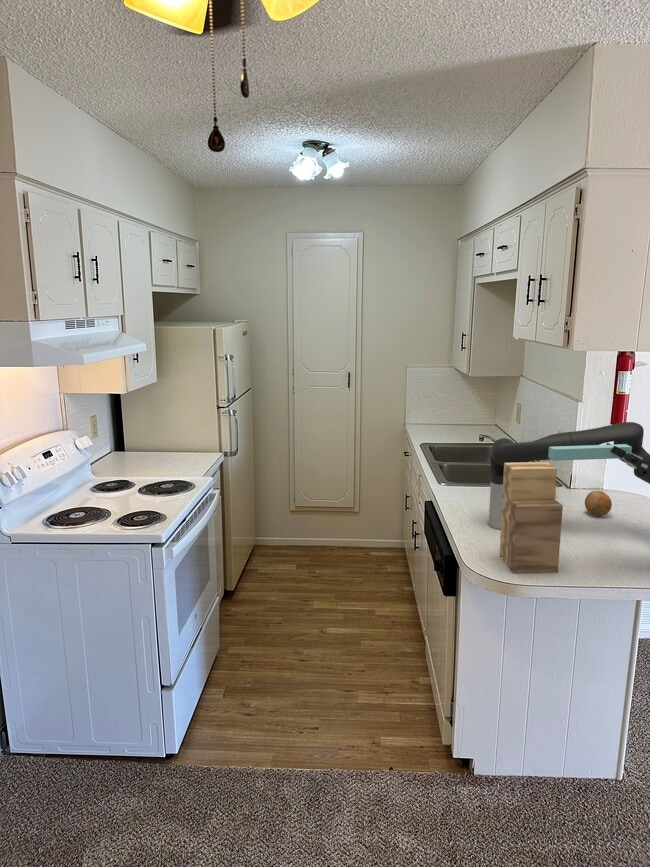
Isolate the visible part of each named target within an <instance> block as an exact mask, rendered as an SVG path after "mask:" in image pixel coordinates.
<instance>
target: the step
mask: <svg viewBox="0 0 650 867" xmlns="http://www.w3.org/2000/svg"><path fill="white" fill-rule="evenodd" d="M563 506H564V505H563V504H562V503H561V502H559V501H558V500H556V499H555V500H543V501H512V505H511V524H510V542H509V560H508V565H507V567H508V568H509V570H510V569H511V570H510V571H511V573H512V574H545V573H546V574H547V573H548V574H550V573H553V574H555V573H559V564H560V560H559V559H560V549H561V533H562V520H563Z"/></svg>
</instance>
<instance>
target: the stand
mask: <svg viewBox="0 0 650 867" xmlns="http://www.w3.org/2000/svg"><path fill="white" fill-rule="evenodd" d="M557 475H558V468H557V467H556V466H554V465H552V464H551V463H549V462H548V461H531V462H518V463H504V477H503V496H502V516H501V529H500V539H499V557H500V558H501V557H502V558H503V559H502V558H501V559H502V560H503V561H505V562H504V563H505V564H506V566H508V560H509V542H510V524H511V505H512V501H543V500H556V497H555V491H556V492H557Z"/></svg>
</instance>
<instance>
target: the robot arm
mask: <svg viewBox="0 0 650 867" xmlns="http://www.w3.org/2000/svg"><path fill="white" fill-rule="evenodd" d="M643 441H644V427H643V426H642V425H641V424H640V423H637V422H632V421H624V422H618V423H614V424H609V425H605V426H600V427H595V428H588V429H583V430H576V431H568V432H567V431H566V432H558V433H553V434H549V435H546V436H544V437H540V438H538V439H535V440H532V441H525V442H514V441H513V440H512V439H509V438H506V437H502V438H499V439H497V440H496V441H494V443H493V444H492V446H491V448H490V449H491V451H490V488H489V507H488V509H489V510H488V512H489V513H488V526H489V527H491V528H494V529H496V530H497V529H498V530H501V516H502V496H503V477H504V463H518V462H540V461H550V460H551V459H549V458H548V455H549V447H556V446H587V445H604V444H605V445H617V444H626V445H629V446H631V447H632V452H631V454H630V453H629V452H625V451H624V450H622V449H620V448H618V447H617V446H613V448H612V450H611V452H612V453H614V454H615V455H617V456H619V457H622V458H619V461H622V462H623V463H625V464H626V465H627V466H628V467H630V468H632V469H633V474H634V476H635V477H637V478H638V479H640V480H642V481H643V482H645V483H647V484H649V485H650V453H649V452H647V450H646V449H645V448H644V447H643V444H644V442H643ZM612 442H613V443H612ZM611 443H612V444H611ZM551 461H552V460H551Z"/></svg>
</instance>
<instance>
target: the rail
mask: <svg viewBox="0 0 650 867" xmlns="http://www.w3.org/2000/svg"><path fill="white" fill-rule="evenodd" d="M613 446H617V447H618V448H620V449H622V450H624V451H625V452H629V453H630V454H631V452H632V447H631V446H629V445H626V444H617V445H613V444H612V445H606V444H600V445H587V446H556V447H549V455H548V458H549V459H551V461H580V460H582V461H583V460H588V461H589V460H607V459H608V460H610V459H612V460H613V459H619V458H622V457H619V456H617V455H615V454H614V453H612V452H611V450H612V448H613Z"/></svg>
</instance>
